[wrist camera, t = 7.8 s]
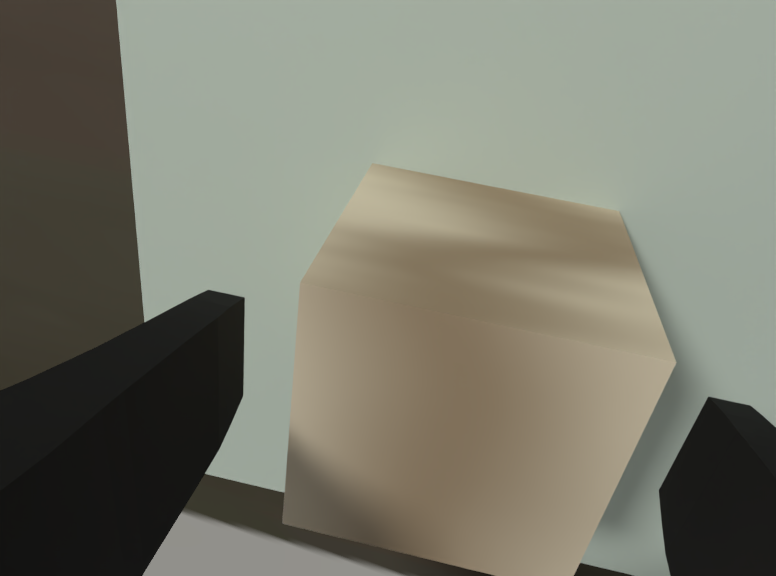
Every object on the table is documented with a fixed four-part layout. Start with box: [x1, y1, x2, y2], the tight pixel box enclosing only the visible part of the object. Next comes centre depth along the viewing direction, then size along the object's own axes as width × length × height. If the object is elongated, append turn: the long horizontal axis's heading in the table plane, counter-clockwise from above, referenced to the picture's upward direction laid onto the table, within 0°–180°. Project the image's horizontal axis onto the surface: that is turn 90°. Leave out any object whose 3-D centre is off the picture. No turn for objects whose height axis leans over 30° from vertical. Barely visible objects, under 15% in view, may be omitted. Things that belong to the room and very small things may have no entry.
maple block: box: [282, 163, 677, 576], centre depth 10 cm, size 4×4×4 cm
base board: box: [116, 0, 776, 576], centre depth 13 cm, size 14×14×2 cm
